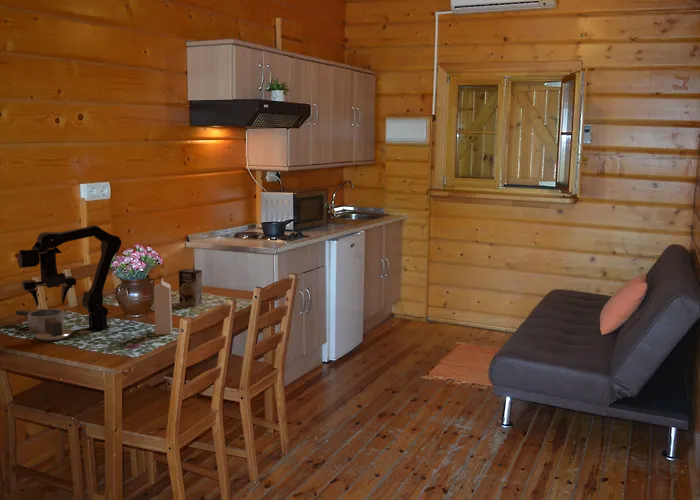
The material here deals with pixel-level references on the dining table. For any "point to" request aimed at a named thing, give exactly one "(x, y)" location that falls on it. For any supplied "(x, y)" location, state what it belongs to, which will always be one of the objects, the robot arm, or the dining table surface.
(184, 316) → the dining table surface
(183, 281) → the coffee box
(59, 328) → the cup and saucer
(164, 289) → the milk
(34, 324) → the pot
